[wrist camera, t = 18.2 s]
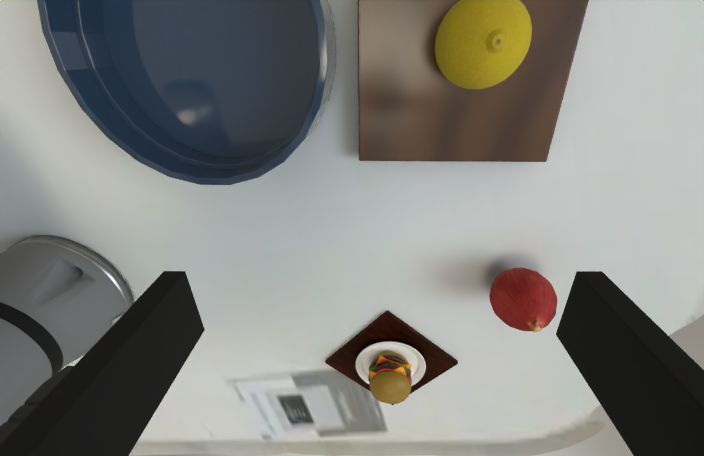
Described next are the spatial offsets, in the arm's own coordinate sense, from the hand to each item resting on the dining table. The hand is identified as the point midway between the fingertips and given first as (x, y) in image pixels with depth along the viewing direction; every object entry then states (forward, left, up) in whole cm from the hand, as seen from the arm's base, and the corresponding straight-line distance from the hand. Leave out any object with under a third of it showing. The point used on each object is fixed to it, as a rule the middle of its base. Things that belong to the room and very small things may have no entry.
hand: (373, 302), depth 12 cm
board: (+6, +8, -21) cm, 24 cm away
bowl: (-14, +8, -21) cm, 27 cm away
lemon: (+6, +8, -20) cm, 22 cm away
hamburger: (+2, -28, -22) cm, 35 cm away
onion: (+14, -14, -22) cm, 29 cm away
